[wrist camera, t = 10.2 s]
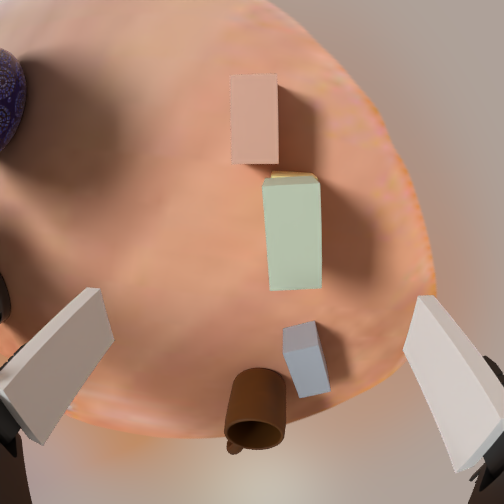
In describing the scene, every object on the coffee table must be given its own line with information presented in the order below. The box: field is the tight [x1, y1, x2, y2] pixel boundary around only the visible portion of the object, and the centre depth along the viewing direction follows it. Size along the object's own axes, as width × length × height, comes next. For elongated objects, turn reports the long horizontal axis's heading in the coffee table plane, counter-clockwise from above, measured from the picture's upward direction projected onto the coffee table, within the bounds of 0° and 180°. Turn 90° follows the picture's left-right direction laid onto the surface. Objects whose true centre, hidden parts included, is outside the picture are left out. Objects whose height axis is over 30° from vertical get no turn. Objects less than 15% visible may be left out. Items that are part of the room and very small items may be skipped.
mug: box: [224, 368, 286, 455], centre depth 36 cm, size 12×8×9 cm, turn 154°
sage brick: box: [262, 176, 322, 291], centre depth 24 cm, size 8×4×5 cm, turn 5°
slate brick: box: [283, 321, 331, 398], centre depth 34 cm, size 8×4×5 cm, turn 19°
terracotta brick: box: [230, 74, 279, 164], centre depth 25 cm, size 8×4×5 cm, turn 1°
